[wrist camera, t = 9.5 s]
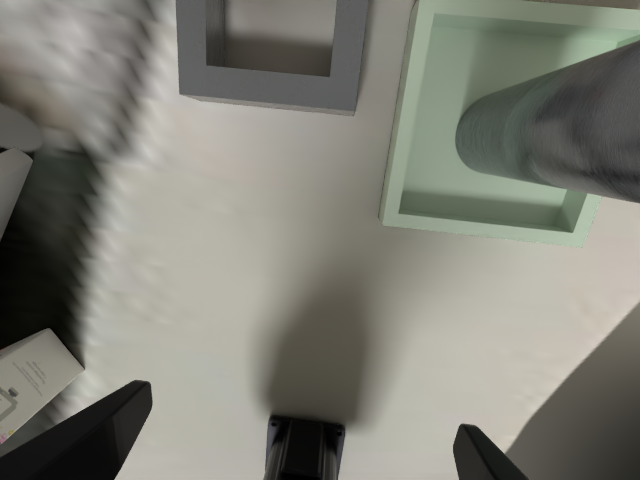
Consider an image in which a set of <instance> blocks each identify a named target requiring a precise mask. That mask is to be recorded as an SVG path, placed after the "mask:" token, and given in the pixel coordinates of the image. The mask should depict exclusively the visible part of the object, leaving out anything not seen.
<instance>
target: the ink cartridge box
mask: <svg viewBox="0 0 640 480" xmlns="http://www.w3.org/2000/svg"><path fill="white" fill-rule="evenodd" d="M83 371H84V368H83V367H82V366H81V365H80V364H79V362H78V361H77V360H76V359H75V358H74V357H73V355H72V354H71V353H70V352H69V350H68V349H67V348H66V347H65V346H64V344H63V343H62V342H61V341H60V340H59V338H58V337H57V336H56V335H55V334H54V332H53V331H52V330H51V329H50V328H47V329H44V330H42V331H40V332H38V333H36V334H33V335H31V336H29V337H27V338H25V339H22V340H20V341H18V342H16V343H14V344H12V345H10V346H8V347H5V348H3V349H1V350H0V445H1V444H2V443H3V442H4V441H5V440H6V439H8V438H9V437H10V436H11V435H12V434H13V433H14V432H15V431H16V430H17V429H18V428H20V427H21V426H22V425H23V424H24V423H25V422H27V421H28V420H29V419H30V418H31V417H32V416H33V415H34V414H36V413H37V412H38V411H39V410H40V409H41V408H42V407H43V406H45V405H46V404H47V403H48V402H49V401H50V400H51V399H52V398H54V397H55V396H56V395H57V394H58V393H59V392H60V391H61V390H63V389H64V388H65V387H66V386H67V385H68V384H69V383H70V382H71V381H73V380H74V379H75V378H76V377H77V376H78V375H80V374H81V373H82V372H83Z"/></svg>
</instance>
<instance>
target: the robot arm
mask: <svg viewBox="0 0 640 480" xmlns="http://www.w3.org/2000/svg"><path fill="white" fill-rule="evenodd" d="M151 409H152V392H151V384H150V382H148V381H142V380H134V381H132V382H130V383H129V384H127V385H125V386H123V387H122V388H120V389H118V390H116V391H115V392H113V393H111V394H110V395H108V396H106V397H104V398H103V399H101V400H99V401H97V402H96V403H94V404H92V405H90V406H89V407H87V408H85V409H83V410H82V411H80V412H78V413H77V414H75V415H73V416H71V417H70V418H68V419H66V420H64V421H63V422H61V423H59V424H57V425H56V426H54V427H52V428H50V429H49V430H47V431H45V432H44V433H42V434H40V435H38V436H37V437H35V438H33V439H31V440H30V441H28V442H26V443H24V444H23V445H21V446H19V447H17V448H16V449H14V450H12V451H11V452H9V453H7V454H5V455H4V456H2V457H0V480H114V479H115V477H116V476H117V474H118V472H119V471H120V469H121V467H122V465H123V464H124V462H125V460H126V458H127V456H128V454H129V452H130V450H131V448H132V446H133V444H134V443H135V441H136V439H137V437H138V435H139V433H140V431H141V429H142V427H143V425H144V423H145V421H146V419H147V417H148V415H149V413H150V411H151ZM274 422H275V423H274ZM338 431H340V432H338ZM344 438H345V428H344V426H342V425H338V424H331V423H323V422H316V421H309V420H302V419H294V418H287V417H280V416H271V417H270V418H269V422H268V431H267V448H266V465H265V475H264V480H338V474H339V468H340V462H341V456H342V450H343V444H344ZM453 453H454V458H455V463H456V467H457V472H458V477H459V480H530V479H528V477H527V476H525V474H524V473H523V472H521V470H520V469H519V468H518V467H517V466H516V465H514V463H513V462H512V461H511V460H510V459H509V458H508V457H507V456H506V455H505V454H504V453H503V452H502V451H501V450H500V449H499V448H498V447H497V446H496V445H495V444H494V443H493V442H492V441H491V440H490V439H489V438H488V437H487V436H486V435H485V434H484V433H483V432H482V431H481V430H480V429H479V428H478V427H477V426H475V425H470V424H461V425H460V426H459V428H458V431H457V435H456V438H455V441H454V445H453Z"/></svg>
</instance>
